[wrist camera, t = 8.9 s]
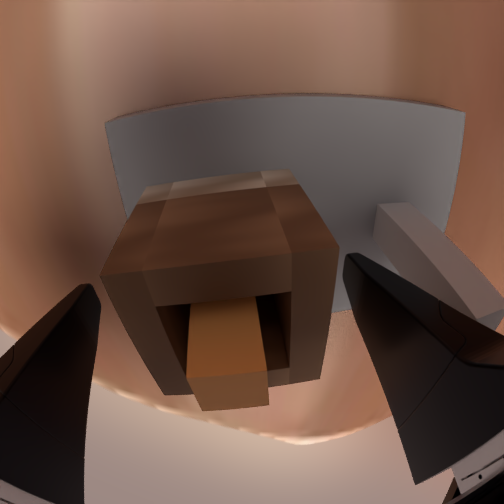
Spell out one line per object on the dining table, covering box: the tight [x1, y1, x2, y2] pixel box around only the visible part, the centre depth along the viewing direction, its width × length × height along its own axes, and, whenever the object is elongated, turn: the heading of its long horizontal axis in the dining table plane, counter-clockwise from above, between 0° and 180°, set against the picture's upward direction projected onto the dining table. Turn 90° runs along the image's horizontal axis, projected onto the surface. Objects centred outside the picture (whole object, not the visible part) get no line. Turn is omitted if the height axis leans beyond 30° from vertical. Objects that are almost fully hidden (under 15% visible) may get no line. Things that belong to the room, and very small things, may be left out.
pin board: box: [105, 93, 504, 411], centre depth 9 cm, size 14×10×8 cm
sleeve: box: [100, 169, 340, 395], centre depth 9 cm, size 5×5×5 cm
